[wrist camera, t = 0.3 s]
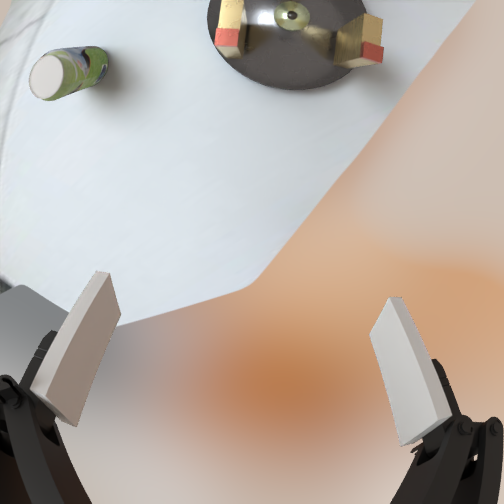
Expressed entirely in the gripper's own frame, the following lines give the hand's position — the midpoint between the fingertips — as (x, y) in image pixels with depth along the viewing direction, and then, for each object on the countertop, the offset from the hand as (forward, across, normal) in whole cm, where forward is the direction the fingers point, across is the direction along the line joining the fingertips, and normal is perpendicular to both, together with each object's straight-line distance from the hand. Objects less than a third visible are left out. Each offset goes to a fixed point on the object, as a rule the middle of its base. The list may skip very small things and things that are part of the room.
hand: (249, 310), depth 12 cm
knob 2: (+24, +9, +16) cm, 30 cm away
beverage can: (+27, -23, +13) cm, 37 cm away
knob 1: (+24, -3, +15) cm, 29 cm away
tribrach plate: (+26, +2, +19) cm, 33 cm away
